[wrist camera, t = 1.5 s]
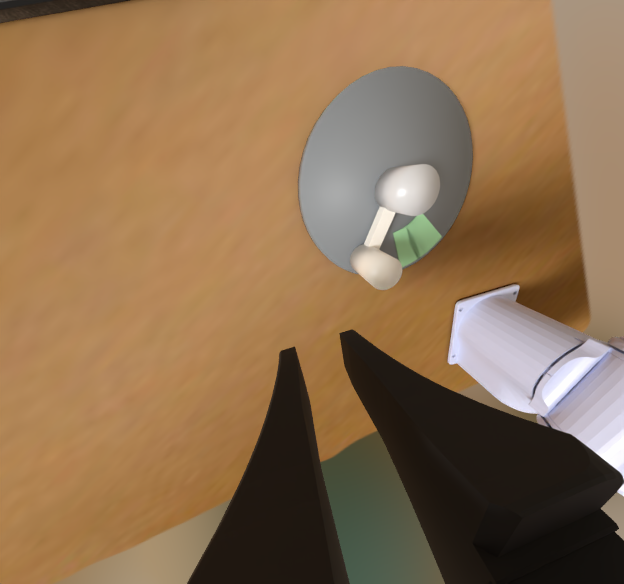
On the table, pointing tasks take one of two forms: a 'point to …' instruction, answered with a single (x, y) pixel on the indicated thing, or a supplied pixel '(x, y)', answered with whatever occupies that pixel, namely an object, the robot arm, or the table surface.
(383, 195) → the tuning lever
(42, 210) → the table surface
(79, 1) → the phone
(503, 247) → the table surface
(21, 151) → the table surface
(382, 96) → the dial plate
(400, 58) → the table surface
